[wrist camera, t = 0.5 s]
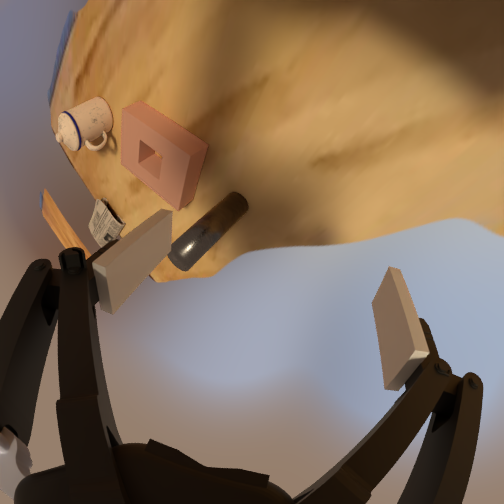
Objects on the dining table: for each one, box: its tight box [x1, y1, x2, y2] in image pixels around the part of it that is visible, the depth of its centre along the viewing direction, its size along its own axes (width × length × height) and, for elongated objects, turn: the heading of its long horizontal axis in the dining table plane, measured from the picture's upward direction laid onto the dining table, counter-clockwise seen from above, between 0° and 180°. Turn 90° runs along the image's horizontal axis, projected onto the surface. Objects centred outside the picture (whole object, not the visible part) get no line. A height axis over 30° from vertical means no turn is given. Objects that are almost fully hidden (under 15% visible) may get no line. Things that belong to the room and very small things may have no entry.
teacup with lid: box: [56, 97, 113, 151], centre depth 46 cm, size 12×9×12 cm
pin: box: [167, 192, 249, 271], centre depth 41 cm, size 4×4×14 cm
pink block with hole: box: [121, 101, 208, 211], centre depth 45 cm, size 13×16×4 cm
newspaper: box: [88, 198, 126, 247], centre depth 86 cm, size 35×12×4 cm, turn 136°
